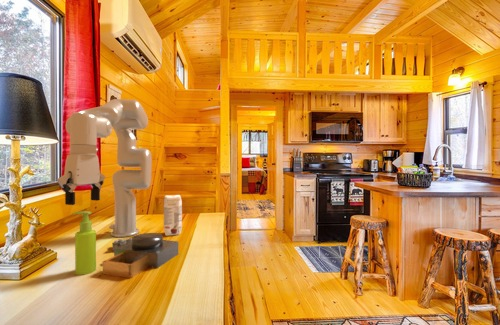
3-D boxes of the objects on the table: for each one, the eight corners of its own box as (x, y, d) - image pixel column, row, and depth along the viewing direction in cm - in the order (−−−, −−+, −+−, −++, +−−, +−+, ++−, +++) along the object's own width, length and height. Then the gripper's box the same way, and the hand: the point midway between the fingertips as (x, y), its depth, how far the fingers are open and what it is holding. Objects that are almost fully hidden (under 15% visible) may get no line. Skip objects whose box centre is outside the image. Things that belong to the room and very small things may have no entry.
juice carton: (182, 235, 132) (182, 196, 132) (163, 236, 130) (164, 197, 129) (180, 230, 140) (180, 194, 139) (163, 232, 137) (163, 195, 136)
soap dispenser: (78, 267, 93) (77, 209, 93) (99, 267, 94) (98, 209, 93) (68, 275, 87) (67, 213, 87) (90, 274, 88) (90, 213, 87)
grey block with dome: (93, 272, 89) (93, 248, 89) (139, 249, 112) (139, 230, 111) (140, 279, 85) (140, 254, 85) (178, 254, 107) (178, 233, 107)
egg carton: (110, 253, 108) (110, 242, 108) (114, 246, 115) (114, 237, 115) (139, 250, 111) (139, 240, 111) (141, 244, 118) (141, 235, 118)
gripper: (95, 151, 99) (95, 198, 99) (49, 149, 82) (49, 206, 82) (112, 151, 97) (112, 199, 97) (68, 149, 80) (68, 207, 80)
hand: (83, 202), depth 89 cm, fingers open, 9 cm apart
